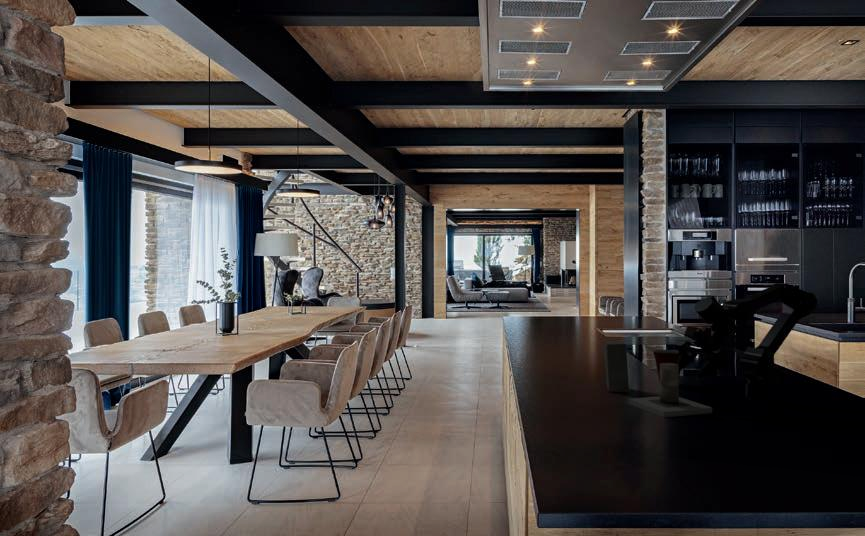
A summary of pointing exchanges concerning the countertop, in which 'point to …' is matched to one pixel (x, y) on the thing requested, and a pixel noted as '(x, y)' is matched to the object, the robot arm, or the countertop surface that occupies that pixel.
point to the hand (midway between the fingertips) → (686, 374)
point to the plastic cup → (665, 358)
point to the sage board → (670, 407)
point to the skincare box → (616, 367)
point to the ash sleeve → (669, 383)
